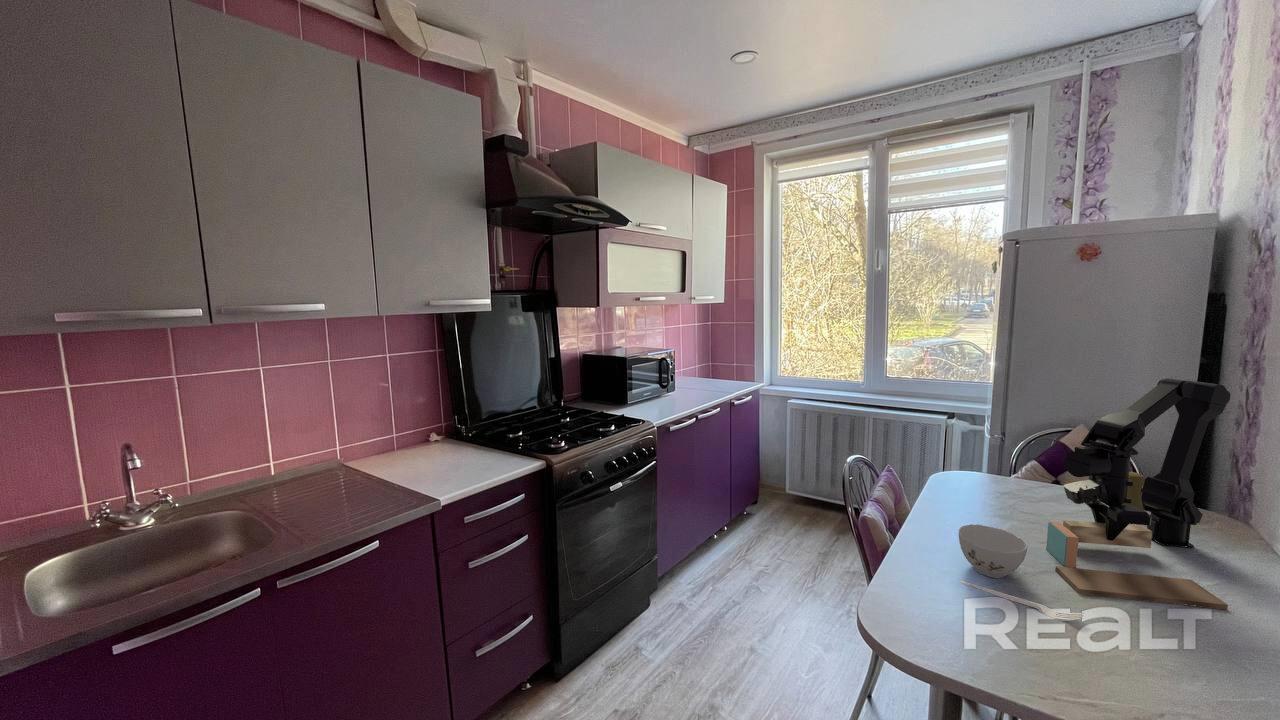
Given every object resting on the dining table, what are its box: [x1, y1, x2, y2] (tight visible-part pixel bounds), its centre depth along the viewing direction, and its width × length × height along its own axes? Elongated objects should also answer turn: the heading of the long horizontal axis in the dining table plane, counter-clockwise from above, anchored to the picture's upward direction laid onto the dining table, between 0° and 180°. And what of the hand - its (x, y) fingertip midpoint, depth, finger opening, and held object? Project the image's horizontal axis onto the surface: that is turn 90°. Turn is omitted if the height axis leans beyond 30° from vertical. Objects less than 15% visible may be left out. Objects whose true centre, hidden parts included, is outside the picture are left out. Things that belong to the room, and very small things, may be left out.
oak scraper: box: [1062, 519, 1152, 549], centre depth 121 cm, size 16×3×4 cm, turn 76°
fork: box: [960, 580, 1085, 622], centre depth 102 cm, size 3×20×2 cm, turn 43°
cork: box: [1122, 471, 1146, 511], centre depth 141 cm, size 6×6×11 cm
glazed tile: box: [1045, 521, 1079, 568], centre depth 117 cm, size 2×8×7 cm, turn 165°
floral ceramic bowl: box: [958, 524, 1028, 579], centre depth 113 cm, size 15×12×8 cm
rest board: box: [1054, 566, 1229, 611], centre depth 105 cm, size 24×9×1 cm, turn 75°
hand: (1105, 536), depth 121 cm, fingers closed on oak scraper, 3 cm apart
